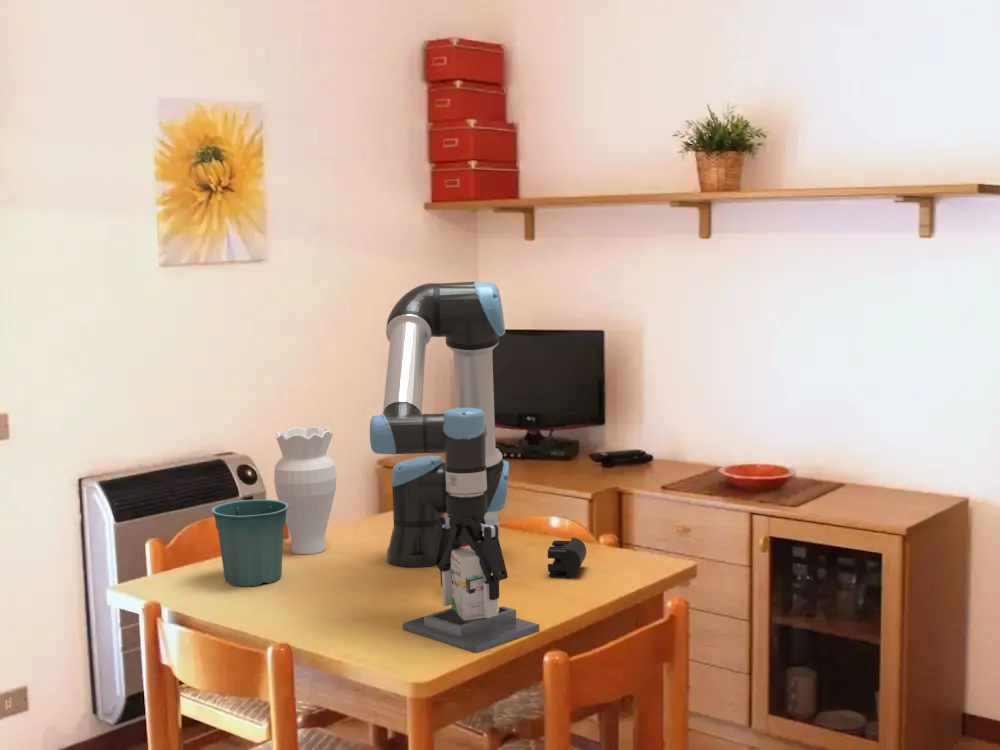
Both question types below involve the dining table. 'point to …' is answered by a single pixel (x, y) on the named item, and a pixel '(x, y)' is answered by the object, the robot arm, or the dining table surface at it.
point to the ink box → (467, 584)
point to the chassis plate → (472, 629)
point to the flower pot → (251, 540)
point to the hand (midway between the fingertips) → (470, 610)
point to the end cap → (566, 558)
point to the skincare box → (492, 519)
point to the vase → (306, 485)
